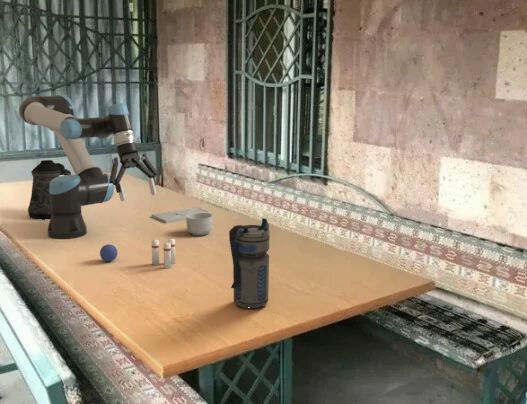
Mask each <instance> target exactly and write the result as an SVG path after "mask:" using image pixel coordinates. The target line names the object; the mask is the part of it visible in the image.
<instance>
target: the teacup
mask: <svg viewBox="0 0 527 404" xmlns="http://www.w3.org/2000/svg"><path fill="white" fill-rule="evenodd" d="M185 221H186V229H187V231H188V233H190V234H191V235H193V236H199V237H200V236H206V235H208V234H209V233H210V232H211V231H212V230H213V225H214V223H213V216H212V214H210V213H203V212H199V213H192V214H189V215H187V216H186V220H185Z"/></svg>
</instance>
